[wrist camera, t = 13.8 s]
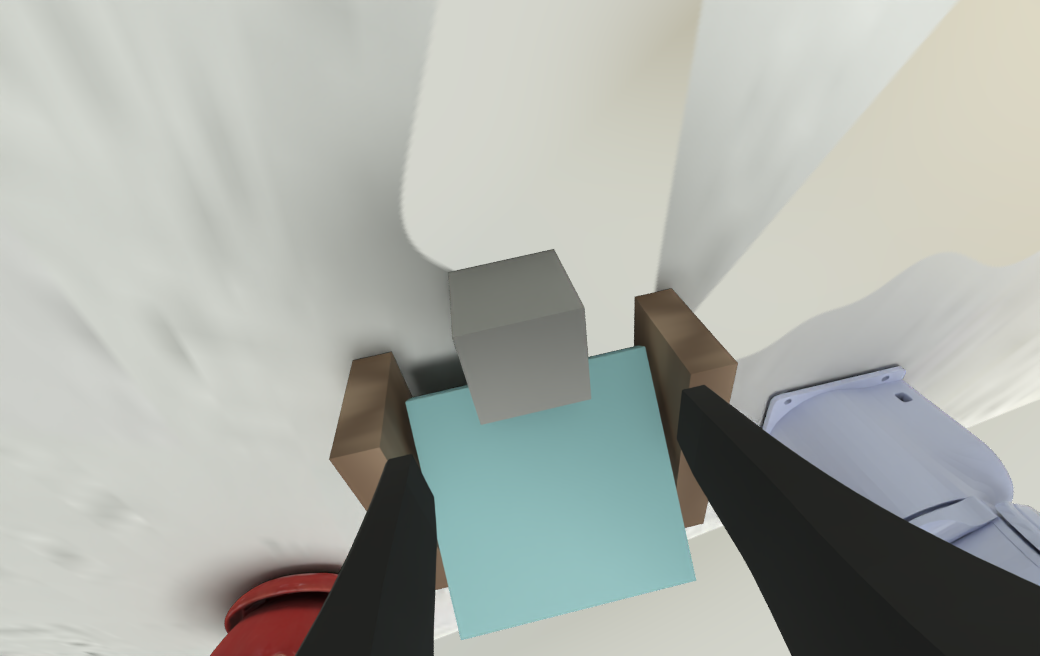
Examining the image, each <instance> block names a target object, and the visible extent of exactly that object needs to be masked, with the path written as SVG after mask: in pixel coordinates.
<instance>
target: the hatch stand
mask: <svg viewBox="0 0 1040 656" xmlns="http://www.w3.org/2000/svg"><path fill="white" fill-rule="evenodd" d="M634 315H635V317H634V320H635V321H634V346H638V345H639V346H644V347H645V348H646V353H647V358H648V362H649V367H650V371H651V376H652V380H653V385H654V390H655V394H656V399H657V403H658V408H659V412H660V417H661V422H662V426H663V431H664V435H665V440H666V445H667V449H668V454H669V458H670V463H671V467H672V472H673V477H674V481H675V486H676V490H677V495H678V499H679V504H680V509H681V513H682V518H683V522H684V527H685V528H687V527H691V526H695V525H699V524H703V522H704V518H705V513H706V509H707V504H708V499H707V497H706V496H705V494H704V492H703V491H702V489H701V487H700V486H699V484H698V482H697V481H696V479H695V477H694V476H693V474H692V472H691V470H690V467H689V465H688V463H687V461H686V459H685V457H684V455H683V452H682V450H681V448H680V446H679V443H678V441H677V430H678V421H679V412H680V403H681V394H682V390H684V389H688V388H692V387H696V386H701V385H706V386H707V387H708V388H710V389H711V390H712V391H714V392H715V393H716V394H717V395H719V396H720V397H721V398H723V399H724V400H725V401H726V402H728V403H729V402H730V398H731V393H732V388H733V384H734V379H735V375H736V370H737V365H738V363H737V362H736V361H735V359H734V358H733V357H732V356H731V355H730V354H729V353H728V352H727V350H726V349H725V348H724V347H723V346H722V345H721V344H720V343H719V341H718V340H717V339H716V338H715V337H714V336H713V335H712V333H711V332H710V331H709V330H708V329H707V328H706V327H705V326H704V324H703V323H702V322H701V321H700V320H699V319H698V318H697V316H696V315H695V314H694V313H693V312H692V311H691V310H690V309H689V307H688V306H687V305H686V304H685V303H684V302H683V301H682V300H681V298H680V297H679V296H678V295H677V294H676V293H675V292H674V290H673V289H667V290H663V291H658V292H654V293H650V294H646V295H641V296H636V297H635V314H634ZM410 398H412V396H411V394H410V391H409V389H408V387H407V385H406V383H405V380H404V378H403V376H402V374H401V371H400V369H399V367H398V365H397V363H396V360H395V358H394V356H393V354H392V352H389V353H385V354H380V355H376V356H371V357H367V358H363V359H358V360H354V361H353V362H352V366H351V370H350V374H349V378H348V383H347V387H346V391H345V395H344V399H343V404H342V408H341V412H340V416H339V420H338V425H337V429H336V433H335V437H334V441H333V446H332V450H331V454H330V458H329V460H330V461H331V462H332V464H333V465H334V467H335V468H336V469H337V471H338V472H339V473H340V475H341V476H342V478H343V479H344V480H345V482H346V483H347V485H348V486H349V487H350V489H351V490H352V492H353V493H354V494H355V496H356V497H357V498H358V500H359V501H360V503H361V504H362V505H363V507H364V508H365V510H366V511H367V510H368V508H369V505H370V503H371V500H372V498H373V495H374V493H375V490H376V488H377V485H378V482H379V480H380V477H381V475H382V472H383V469H384V466H385V464H386V462H387V461H388V459H391V458H396V457H400V456H404V455H408V454H412V455H413V457H414V459H415V461H416V462H417V464H418V466H419V468H420V470H421V467H420V463H419V459H418V454H417V450H416V446H415V442H414V437H413V433H412V429H411V424H410V420H409V416H408V412H407V407H406V403H405V402H406V401H407V400H408V399H410ZM421 472H422V471H421ZM446 587H448V583H447V578H446V574H445V570H444V566H443V561H442V557H441V553H440V548H439V544H438V540H437V558H436V585H435V590H438V589H442V588H446Z"/></svg>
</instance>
